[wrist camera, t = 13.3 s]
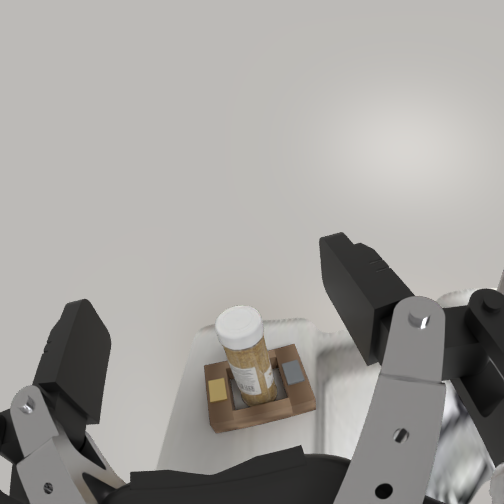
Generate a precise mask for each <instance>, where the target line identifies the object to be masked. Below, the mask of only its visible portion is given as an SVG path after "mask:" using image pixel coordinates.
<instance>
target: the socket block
mask: <svg viewBox="0 0 504 504" xmlns="http://www.w3.org/2000/svg"><path fill="white" fill-rule="evenodd" d="M268 355H269V359H270V364H271V368H272V369H276V368H278V369H279V372H280V375H281V378H282V382H283V385H284V388H285V391H286V394H287V398H285V399H281V400H277V401H274V402H270V403H265V404H261V405H257V406H253V407H248V408H244V409H239V410H235V405H234V399H233V393H232V387H231V381H230V379H234V375H233V373H232V370H231V368H230V365H229V362H228V361H223V362H219V363H214V364H209V365H205V366H204V370H205V380H206V391H207V400H208V410H209V419H210V425H211V426H212V428H213V429H214V431H215V432H216V433H220V432H226V431H231V430H236V429H241V428H246V427H251V426H255V425H259V424H264V423H268V422H272V421H276V420H280V419H284V418H288V417H291V416H295V415H299V414H302V413H306V412H309V411H312V410H316V400H315V397H314V394H313V391H312V389H311V386H310V383H309V381H308V378H307V376H306V373H305V370H304V368H303V365H302V362H301V360H300V357H299V354H298V352H297V349H296V347H295V344H292V345H288V346H285V347H281V348H277V349H273V350H269V351H268ZM294 360H298V363H299V365H300V368H301V371H302V373H303V376H304V379H305V381H303V382H299V383H296V384H292V385H288V383H287V380H286V377H285V374H284V371H283V367H282V364H283V363H287V362H291V361H294ZM221 378H224V379H225V386H226V392H227V399H228V400H225V401H220V402H215V403H211V402H210V393H209V384H208V381H211V380H216V379H221Z"/></svg>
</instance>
